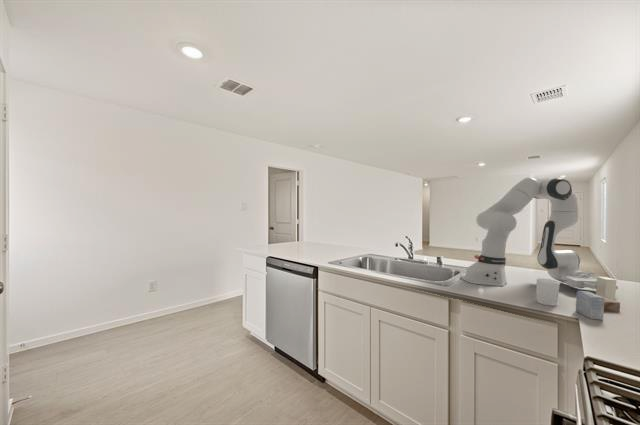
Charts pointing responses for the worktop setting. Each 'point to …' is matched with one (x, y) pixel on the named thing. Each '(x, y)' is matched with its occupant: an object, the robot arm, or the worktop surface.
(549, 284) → the white cup
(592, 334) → the worktop surface
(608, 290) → the cream pillar
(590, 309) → the medicine box
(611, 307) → the walnut block
